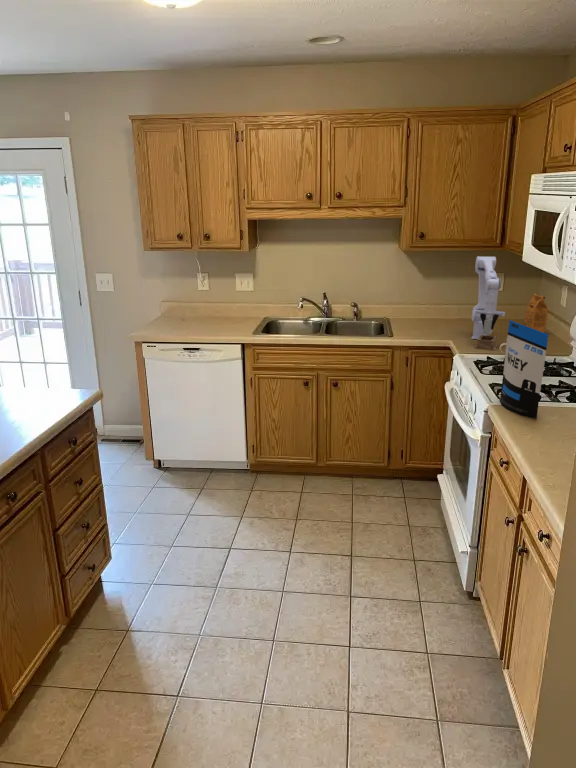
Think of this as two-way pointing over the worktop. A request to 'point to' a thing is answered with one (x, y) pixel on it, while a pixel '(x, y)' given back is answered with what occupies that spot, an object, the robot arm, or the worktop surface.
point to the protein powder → (523, 369)
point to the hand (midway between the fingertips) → (488, 328)
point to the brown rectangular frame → (486, 342)
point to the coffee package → (536, 313)
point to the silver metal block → (488, 326)
